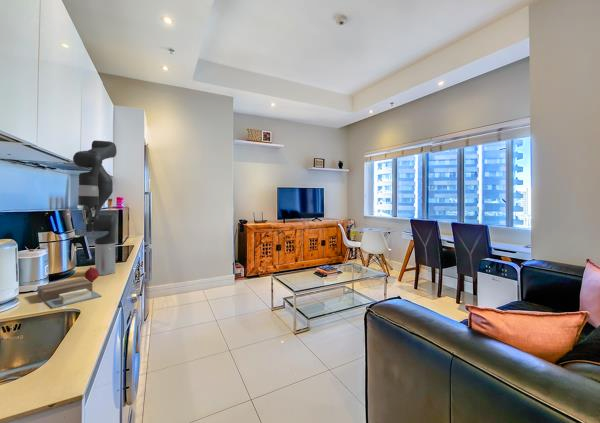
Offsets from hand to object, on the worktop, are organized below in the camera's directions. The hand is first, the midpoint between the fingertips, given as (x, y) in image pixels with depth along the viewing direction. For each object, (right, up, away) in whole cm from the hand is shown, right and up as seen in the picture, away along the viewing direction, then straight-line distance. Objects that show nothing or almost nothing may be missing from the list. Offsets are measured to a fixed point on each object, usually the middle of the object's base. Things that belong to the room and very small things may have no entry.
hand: (88, 231), depth 125 cm
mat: (+4, -28, -13) cm, 31 cm away
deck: (-5, -27, -7) cm, 28 cm away
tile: (+5, -25, -14) cm, 29 cm away
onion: (-7, -27, +10) cm, 29 cm away
